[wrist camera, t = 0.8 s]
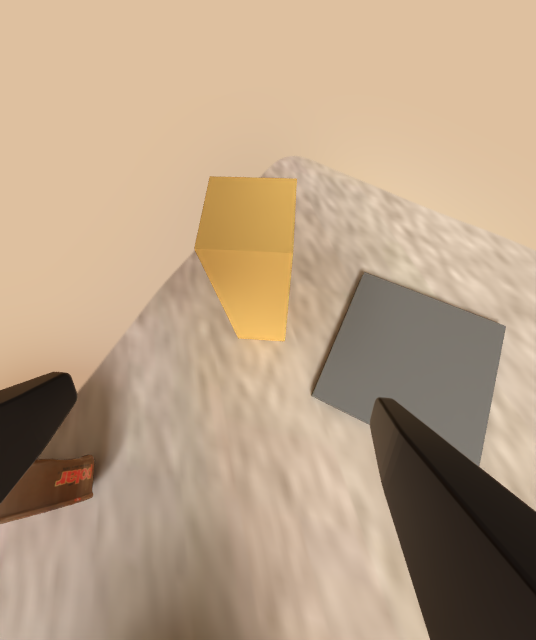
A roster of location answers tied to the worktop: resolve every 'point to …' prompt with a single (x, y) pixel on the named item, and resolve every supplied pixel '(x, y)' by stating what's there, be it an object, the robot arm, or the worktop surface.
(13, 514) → the tin
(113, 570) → the worktop surface
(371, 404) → the charcoal mat
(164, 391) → the worktop surface
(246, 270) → the ochre post
